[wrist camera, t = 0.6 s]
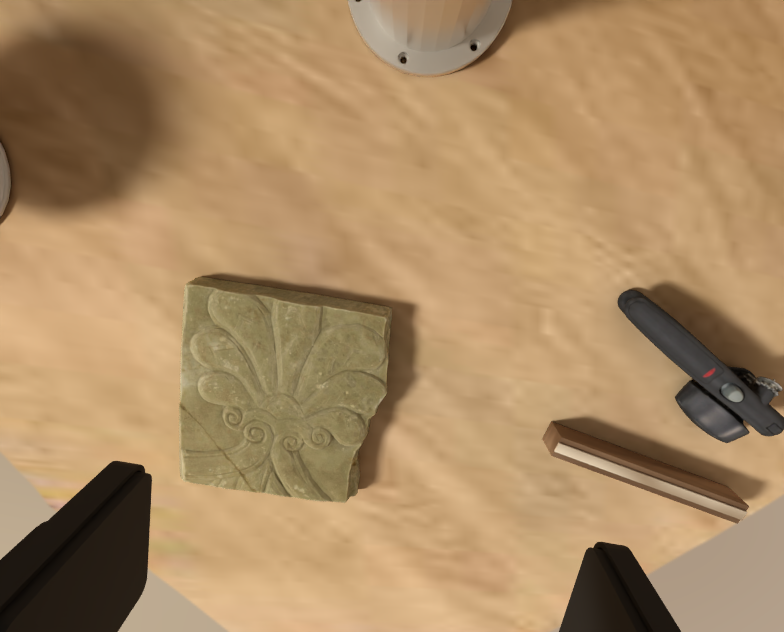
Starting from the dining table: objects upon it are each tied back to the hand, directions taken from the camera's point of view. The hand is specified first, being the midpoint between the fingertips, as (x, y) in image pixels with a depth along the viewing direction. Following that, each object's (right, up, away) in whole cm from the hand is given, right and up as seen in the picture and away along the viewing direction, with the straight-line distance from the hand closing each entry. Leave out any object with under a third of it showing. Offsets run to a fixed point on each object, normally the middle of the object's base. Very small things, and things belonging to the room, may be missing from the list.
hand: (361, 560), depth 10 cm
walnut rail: (+24, -9, +36) cm, 45 cm away
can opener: (+27, +2, +34) cm, 43 cm away
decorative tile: (-9, -2, +36) cm, 37 cm away
